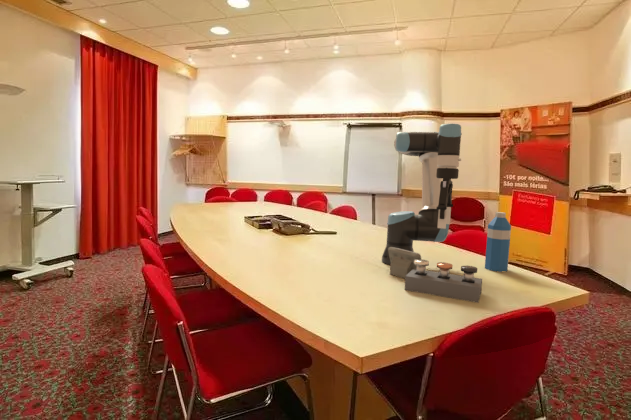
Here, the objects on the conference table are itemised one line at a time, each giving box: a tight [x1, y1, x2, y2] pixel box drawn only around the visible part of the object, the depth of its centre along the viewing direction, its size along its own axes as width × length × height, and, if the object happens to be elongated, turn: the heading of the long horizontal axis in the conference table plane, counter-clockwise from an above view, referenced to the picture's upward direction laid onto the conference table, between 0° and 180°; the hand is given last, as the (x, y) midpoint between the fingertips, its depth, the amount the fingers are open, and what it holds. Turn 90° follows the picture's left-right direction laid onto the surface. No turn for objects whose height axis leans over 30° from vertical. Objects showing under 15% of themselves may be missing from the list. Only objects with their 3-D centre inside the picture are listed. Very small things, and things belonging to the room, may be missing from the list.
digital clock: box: [388, 247, 423, 280], centre depth 153 cm, size 16×9×11 cm, turn 25°
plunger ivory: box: [414, 258, 430, 276], centre depth 137 cm, size 5×5×5 cm
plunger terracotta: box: [436, 261, 454, 279], centre depth 134 cm, size 5×5×5 cm
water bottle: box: [484, 211, 512, 273], centre depth 167 cm, size 9×9×25 cm
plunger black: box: [460, 265, 479, 283], centre depth 130 cm, size 5×5×5 cm
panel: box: [404, 269, 483, 303], centre depth 134 cm, size 24×12×5 cm, turn 62°
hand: (443, 226), depth 140 cm, fingers open, 13 cm apart
